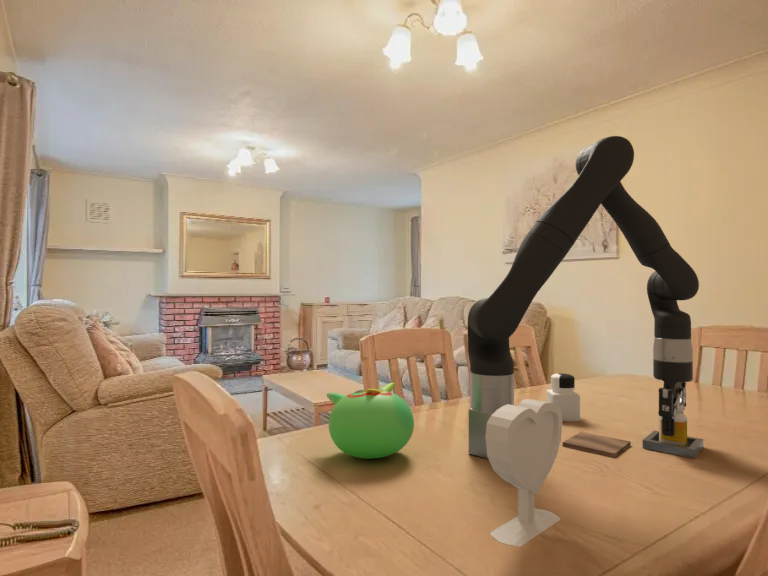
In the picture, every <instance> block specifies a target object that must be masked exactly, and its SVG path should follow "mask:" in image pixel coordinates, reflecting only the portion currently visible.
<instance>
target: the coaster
mask: <svg viewBox="0 0 768 576" xmlns="http://www.w3.org/2000/svg"><path fill="white" fill-rule="evenodd" d="M562 446H563V447H565V448H571V449H575V450H579V451H584V452H589V453H593V454H597V455H601V456H606V457H611V458H616V457H617V456H618V455H620V454H621V453H622V452H624V451H625V450H626V449H628V448H629V447H630V446H631V441H629V440H625V439H620V438H614V437H609V436H603V435H598V434H595V433H590V432H589V433H588V432H583V431H580V432H578V433H576V434H575V435H573V436H571V437H569V438H568V439H566V440H564V441H562Z"/></svg>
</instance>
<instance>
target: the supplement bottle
mask: <svg viewBox="0 0 768 576" xmlns="http://www.w3.org/2000/svg"><path fill="white" fill-rule="evenodd" d="M665 411H668V412H669V409H666V410H665ZM682 412H683V414H682ZM658 431H659V440H658V441H659V442H664V443H669V444H675V445H680V446H685V447H688V446H687V436H688V418H687V416H686V415H685V414H684V411H683V405H682V404H679V409H678V410H676V413H675V435H674V436H666V435H663V434H662V417H661V416H659V415H658Z"/></svg>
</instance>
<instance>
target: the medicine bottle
mask: <svg viewBox="0 0 768 576" xmlns="http://www.w3.org/2000/svg"><path fill="white" fill-rule="evenodd" d="M575 383H576V382H575V376H573V374H569V373H563V372H562V373H558V372H557V373H554V374H551V376H550V388H551V389H546V402H549V403H554V404H556V405H558V406H559V407H560V409H561V412H562V422H574V423H575V422H578V423H579V422H580V421H581V396H580V394H579V393H577V392H576V391H575V390H576V388H575V386H576V385H575Z"/></svg>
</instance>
